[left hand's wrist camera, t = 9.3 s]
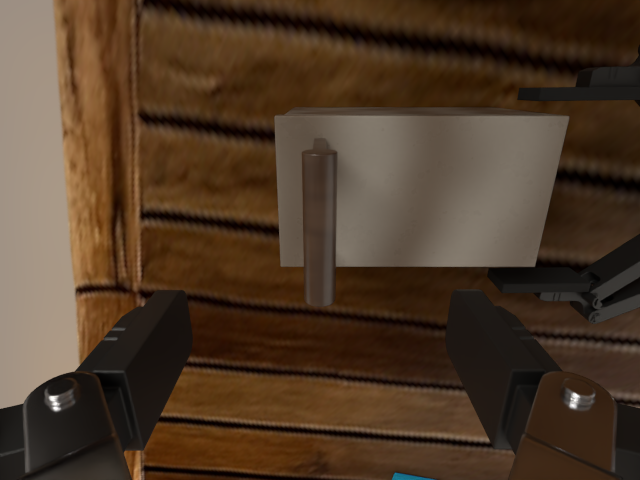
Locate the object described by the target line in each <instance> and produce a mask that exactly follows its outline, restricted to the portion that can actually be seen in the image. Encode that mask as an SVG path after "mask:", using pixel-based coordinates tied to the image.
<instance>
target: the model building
mask: <svg viewBox="0 0 640 480" xmlns="http://www.w3.org/2000/svg"><path fill="white" fill-rule="evenodd" d="M392 480H435V479H429V478H423V477H417V476H412V475H406V474H400V473H395V474H394V476H393V478H392Z"/></svg>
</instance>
